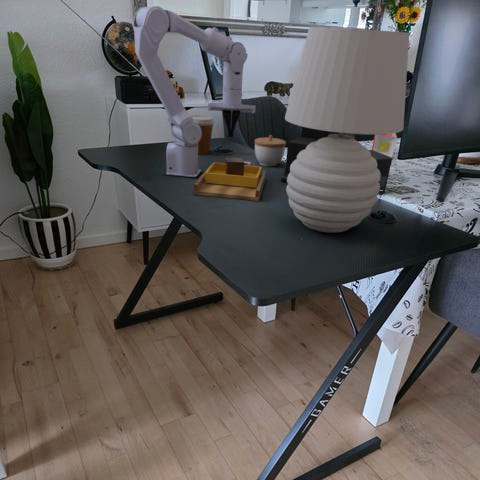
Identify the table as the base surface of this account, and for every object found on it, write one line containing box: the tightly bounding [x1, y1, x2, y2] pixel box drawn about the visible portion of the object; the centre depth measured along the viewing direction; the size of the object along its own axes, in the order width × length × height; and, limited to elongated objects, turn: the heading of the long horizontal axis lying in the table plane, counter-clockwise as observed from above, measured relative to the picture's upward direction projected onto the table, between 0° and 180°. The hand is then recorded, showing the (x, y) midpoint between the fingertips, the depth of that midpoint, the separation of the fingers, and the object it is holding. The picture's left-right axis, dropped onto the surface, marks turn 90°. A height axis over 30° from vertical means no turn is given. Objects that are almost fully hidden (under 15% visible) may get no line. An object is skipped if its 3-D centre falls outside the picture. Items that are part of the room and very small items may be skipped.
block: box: [225, 157, 246, 176], centre depth 132 cm, size 5×5×5 cm
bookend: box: [280, 126, 346, 183], centre depth 139 cm, size 23×11×24 cm, turn 149°
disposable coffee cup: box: [190, 114, 215, 155], centre depth 163 cm, size 10×10×12 cm
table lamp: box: [284, 26, 410, 234], centre depth 99 cm, size 25×25×40 cm
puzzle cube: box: [371, 133, 398, 158], centre depth 178 cm, size 8×8×8 cm
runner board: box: [193, 165, 267, 202], centre depth 131 cm, size 18×22×3 cm
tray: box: [204, 160, 263, 188], centre depth 135 cm, size 15×18×3 cm
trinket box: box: [254, 134, 287, 167], centre depth 155 cm, size 11×11×9 cm
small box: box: [368, 149, 394, 195], centre depth 135 cm, size 11×6×10 cm, turn 23°
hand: (230, 136), depth 142 cm, fingers closed
